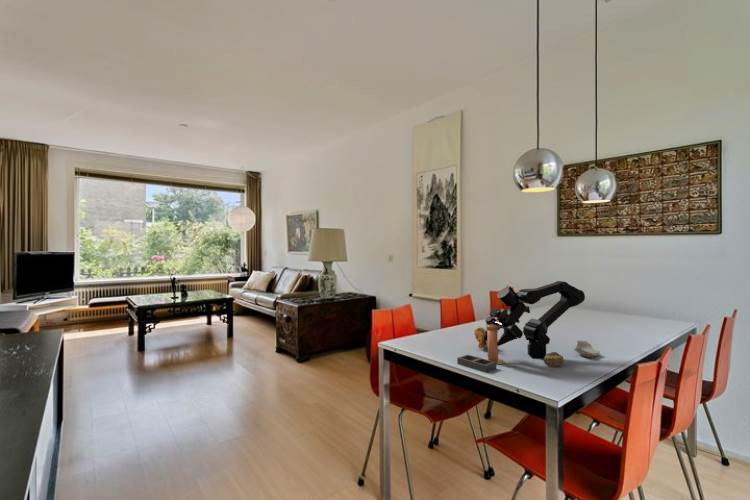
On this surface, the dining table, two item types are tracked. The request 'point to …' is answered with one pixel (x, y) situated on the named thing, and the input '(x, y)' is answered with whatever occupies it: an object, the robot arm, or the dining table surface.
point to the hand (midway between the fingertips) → (490, 342)
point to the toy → (481, 337)
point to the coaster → (498, 361)
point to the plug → (492, 342)
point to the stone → (553, 359)
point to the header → (476, 363)
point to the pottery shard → (585, 349)
